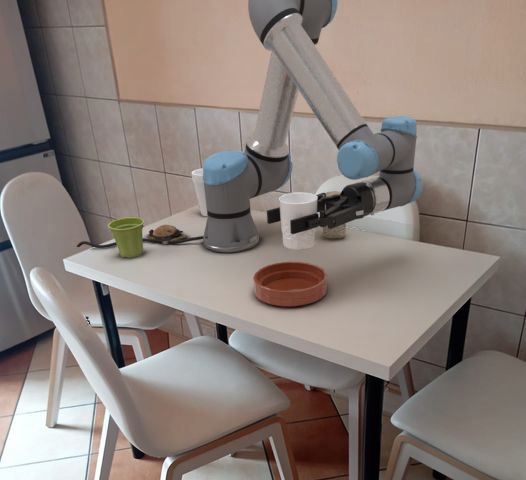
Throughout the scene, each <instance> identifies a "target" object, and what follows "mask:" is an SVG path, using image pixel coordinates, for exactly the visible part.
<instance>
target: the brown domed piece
mask: <svg viewBox="0 0 526 480" xmlns="http://www.w3.org/2000/svg"><path fill="white" fill-rule="evenodd" d="M146 237H147V238H148V239H158V240H163V243H162V244H163V245H165V246H166V245H169V244H168V242H166V241H165V240H169V241H176V240H183V239H187V238H188V235H186V234H184V231H183V230H180V229H179V228H177V227H176V226H174V225H171V224H162V225H159V226H157V227H156V228H154V229H153V228H152V229H149V231H148V234H147V236H146Z"/></svg>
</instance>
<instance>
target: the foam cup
mask: <svg viewBox="0 0 526 480" xmlns="http://www.w3.org/2000/svg"><path fill="white" fill-rule="evenodd" d="M191 180H192V182H193V187H194V191H195V195H196V198H197V199H196V200H197V203H198V207H199V210H200V214H201V216H203V217H207V207H206V197H205V189H204V181H203V167H202V168H197V169H194V170H193V171H191Z"/></svg>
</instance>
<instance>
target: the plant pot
mask: <svg viewBox="0 0 526 480" xmlns="http://www.w3.org/2000/svg"><path fill="white" fill-rule="evenodd" d="M144 224H145V220H144V219H143V218H141V217H137V216H136V217H135V216H132V217H131V216H130V217H122V218H118V219H115V220H112V221H110V222H109V223H108V224H107V228H108V229H109V230H110V232H111V234H112V236H113V238H114V242H116V244H117V245H116V246H117V249H118V253H119V255H120V257H122V258H128V259H132V258H136V257H139V256H141V254H143V253H144V241H143V238H144V237H143V228H144Z"/></svg>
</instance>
